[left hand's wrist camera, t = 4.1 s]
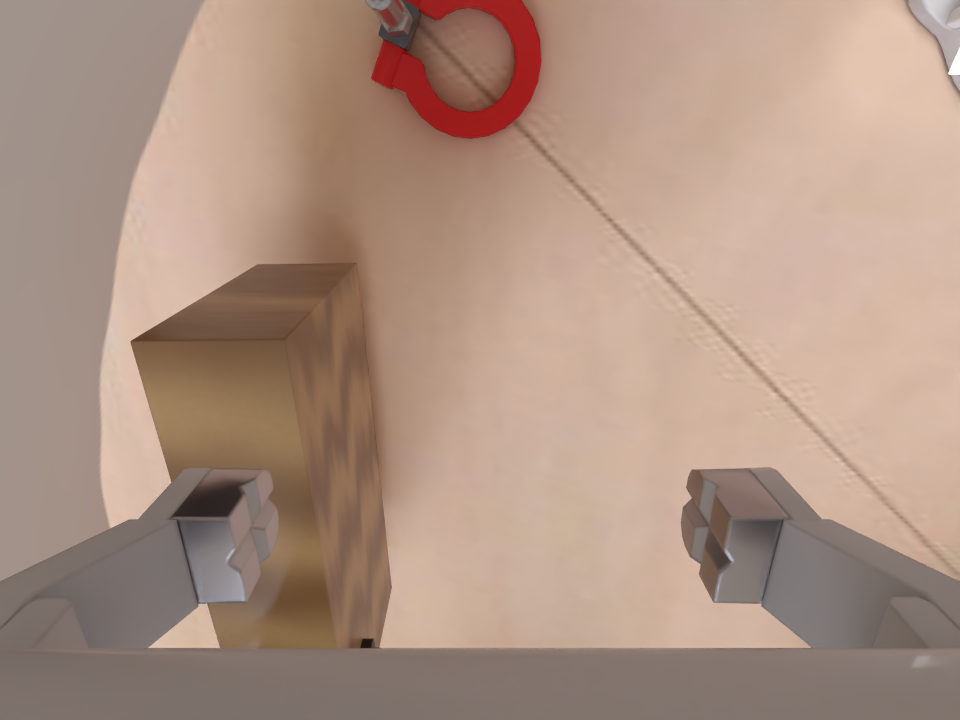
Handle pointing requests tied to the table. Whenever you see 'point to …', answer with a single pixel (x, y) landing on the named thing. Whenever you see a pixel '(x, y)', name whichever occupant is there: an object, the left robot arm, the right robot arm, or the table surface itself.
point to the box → (283, 443)
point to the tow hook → (395, 68)
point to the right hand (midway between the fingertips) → (317, 648)
